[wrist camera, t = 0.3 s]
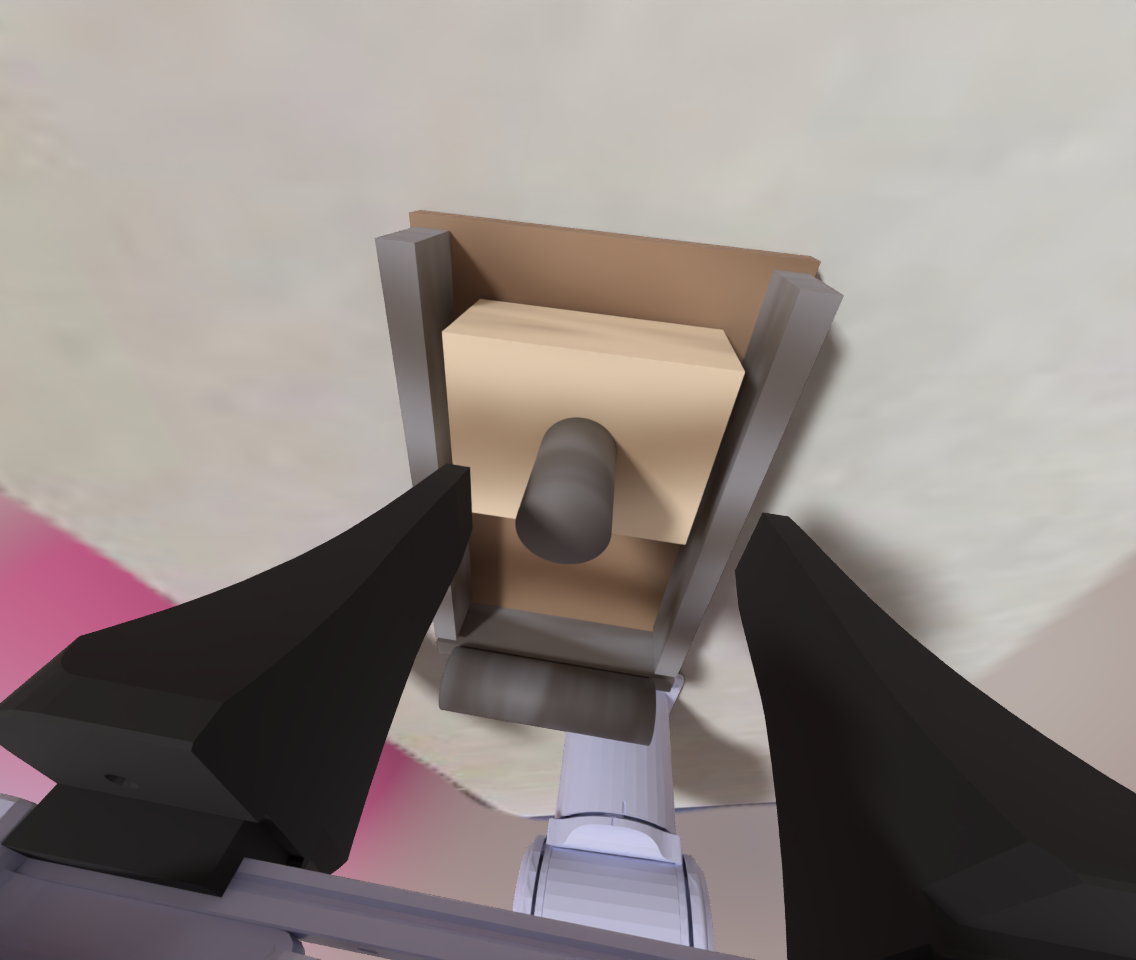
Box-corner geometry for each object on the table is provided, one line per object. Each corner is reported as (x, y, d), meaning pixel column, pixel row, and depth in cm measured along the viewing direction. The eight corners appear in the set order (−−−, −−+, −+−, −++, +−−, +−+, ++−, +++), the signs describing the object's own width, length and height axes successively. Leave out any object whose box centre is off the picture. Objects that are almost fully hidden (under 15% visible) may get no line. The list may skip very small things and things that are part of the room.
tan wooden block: (677, 483, 20) (697, 635, 14) (484, 455, 20) (414, 589, 14) (722, 329, 16) (781, 442, 9) (480, 298, 16) (378, 386, 10)
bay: (665, 641, 29) (672, 761, 23) (458, 607, 30) (414, 716, 24) (811, 256, 15) (918, 312, 9) (420, 210, 16) (297, 235, 10)
